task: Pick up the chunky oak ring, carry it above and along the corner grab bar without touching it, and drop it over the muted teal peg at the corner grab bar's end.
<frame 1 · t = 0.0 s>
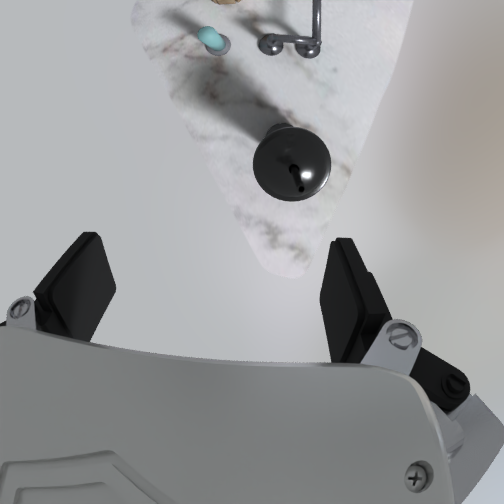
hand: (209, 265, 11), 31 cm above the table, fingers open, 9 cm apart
peg: (218, 45, 30), on the table
drinking cup: (282, 139, 37), on the table
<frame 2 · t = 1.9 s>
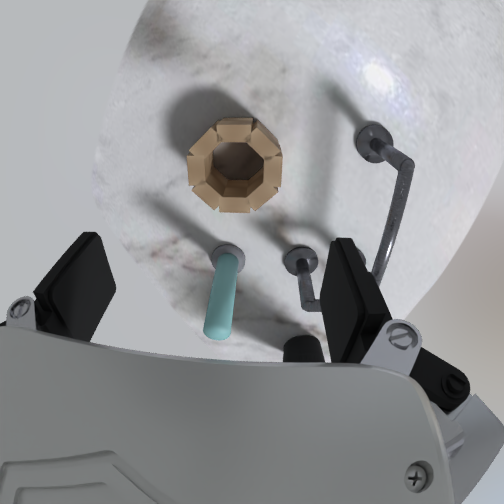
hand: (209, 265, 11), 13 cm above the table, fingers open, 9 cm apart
peg: (228, 258, 27), on the table
ring: (238, 156, 21), on the table
corner grab bar: (374, 143, 20), on the table
drinking cup: (301, 345, 35), on the table
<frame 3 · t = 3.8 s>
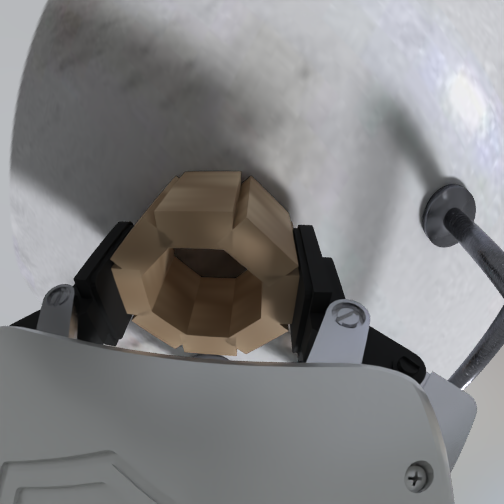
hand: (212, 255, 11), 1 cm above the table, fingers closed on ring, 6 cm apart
ring: (216, 241, 12), on the table, touching gripper
corner grab bar: (448, 214, 11), on the table
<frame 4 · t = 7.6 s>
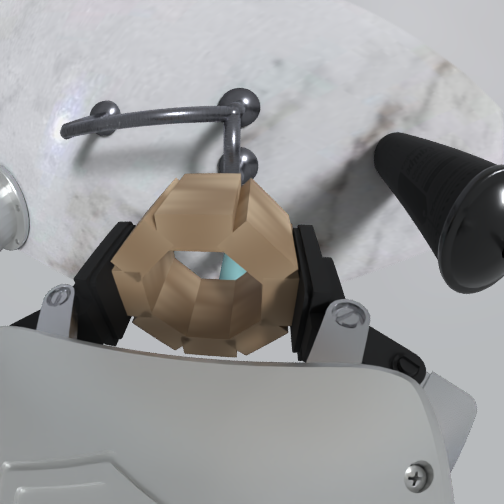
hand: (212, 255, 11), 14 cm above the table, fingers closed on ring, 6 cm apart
peg: (238, 236, 27), on the table
ring: (216, 243, 12), point 13 cm above the table, touching gripper
corner grab bar: (105, 117, 20), on the table
drinking cup: (396, 157, 22), on the table
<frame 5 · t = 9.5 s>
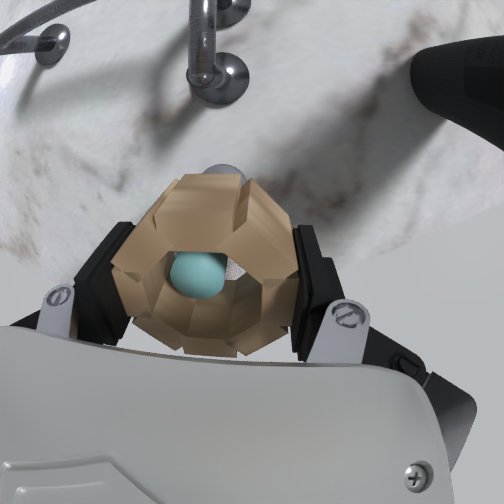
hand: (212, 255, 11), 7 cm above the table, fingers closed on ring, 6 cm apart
peg: (222, 188, 17), on the table
ring: (216, 244, 12), point 6 cm above the table, touching gripper
corner grab bar: (53, 44, 11), on the table
drinking cup: (437, 81, 13), on the table
when the fingers open (3 cm above the table, at t = 11.2 s): ring drops 2 cm, on the table.
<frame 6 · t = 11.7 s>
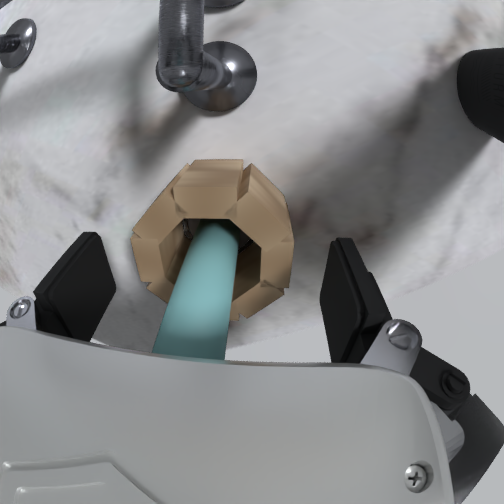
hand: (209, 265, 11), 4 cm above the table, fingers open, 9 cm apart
peg: (221, 220, 14), on the table
ring: (221, 221, 14), on the table
corner grab bar: (18, 43, 7), on the table
drinking cup: (484, 91, 9), on the table
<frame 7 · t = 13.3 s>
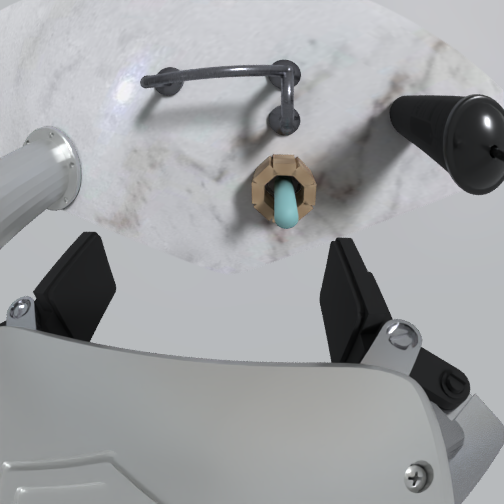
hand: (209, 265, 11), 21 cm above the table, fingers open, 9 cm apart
peg: (283, 181, 30), on the table
ring: (282, 182, 30), on the table
corner grab bar: (169, 81, 24), on the table
drinking cup: (408, 116, 25), on the table
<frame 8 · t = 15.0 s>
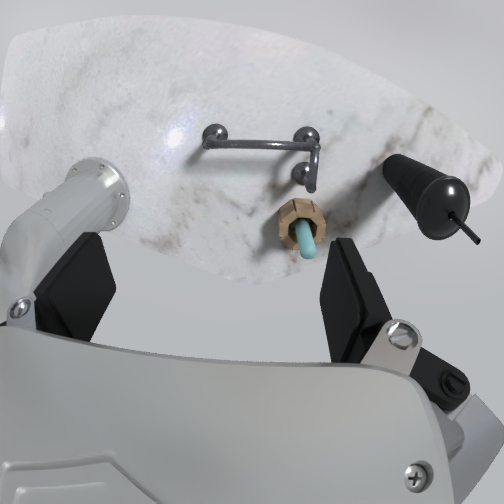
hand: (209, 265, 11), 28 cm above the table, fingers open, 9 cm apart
peg: (299, 218, 41), on the table
ring: (299, 218, 41), on the table
corner grab bar: (215, 135, 34), on the table
drinking cup: (396, 169, 36), on the table
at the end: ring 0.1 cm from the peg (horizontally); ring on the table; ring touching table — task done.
